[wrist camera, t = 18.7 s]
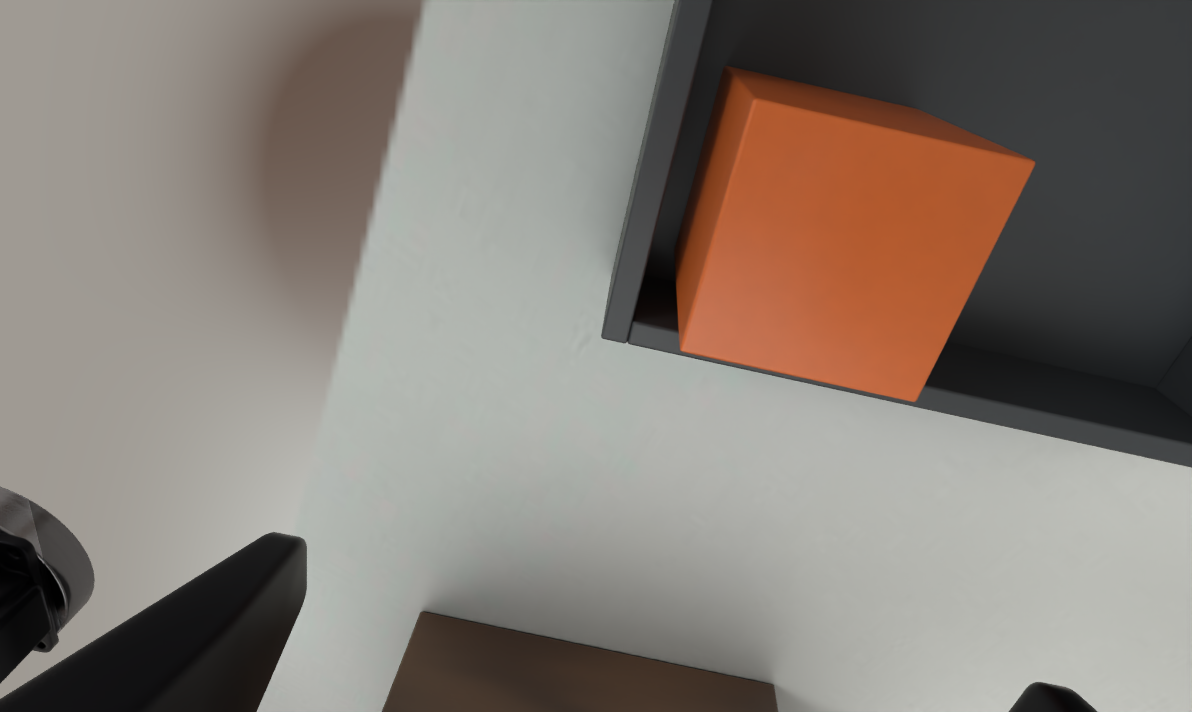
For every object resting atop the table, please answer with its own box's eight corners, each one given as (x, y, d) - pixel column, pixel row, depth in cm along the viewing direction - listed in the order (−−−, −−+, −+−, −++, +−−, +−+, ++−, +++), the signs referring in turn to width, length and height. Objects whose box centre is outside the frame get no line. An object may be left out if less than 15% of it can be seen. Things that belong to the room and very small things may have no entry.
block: (673, 252, 17) (678, 352, 13) (723, 64, 15) (753, 97, 10) (845, 290, 17) (916, 404, 13) (919, 109, 15) (1039, 161, 10)
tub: (610, 280, 18) (600, 339, 15) (760, -376, 12) (795, -505, 9) (1149, 399, 19) (1249, 481, 16) (1555, -182, 13) (1853, -241, 10)
